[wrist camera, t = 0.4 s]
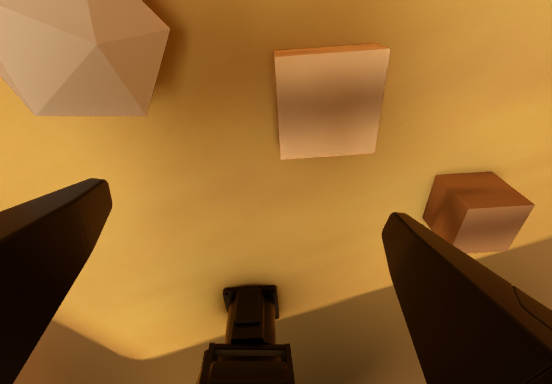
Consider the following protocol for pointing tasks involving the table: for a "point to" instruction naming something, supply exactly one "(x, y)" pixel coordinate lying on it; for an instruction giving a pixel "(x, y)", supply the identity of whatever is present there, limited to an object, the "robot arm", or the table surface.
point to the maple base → (330, 99)
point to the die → (81, 55)
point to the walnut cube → (476, 211)
